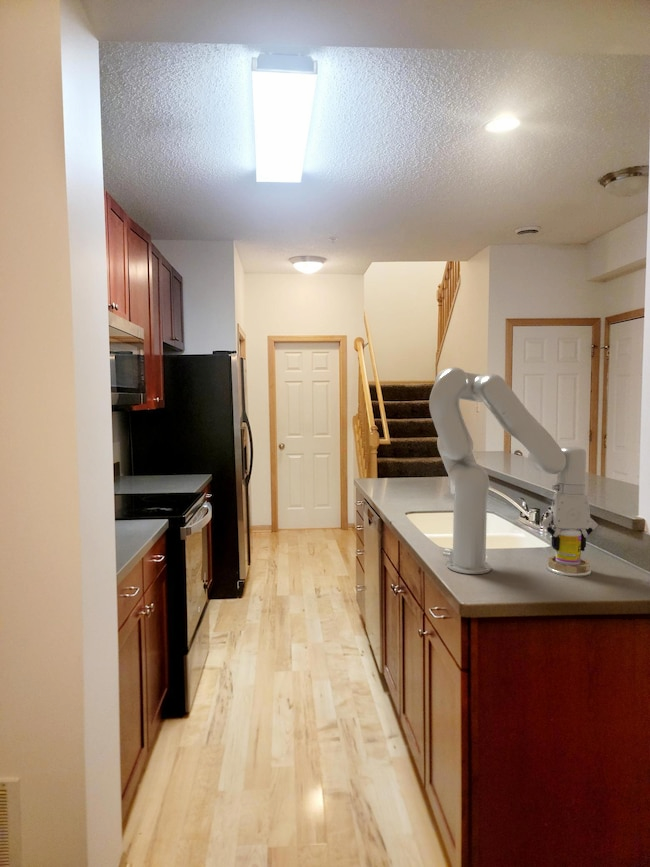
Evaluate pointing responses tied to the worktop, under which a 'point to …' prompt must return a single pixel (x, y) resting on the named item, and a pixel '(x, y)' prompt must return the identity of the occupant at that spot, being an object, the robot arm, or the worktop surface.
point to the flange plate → (569, 568)
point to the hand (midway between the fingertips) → (568, 549)
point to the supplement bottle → (569, 547)
